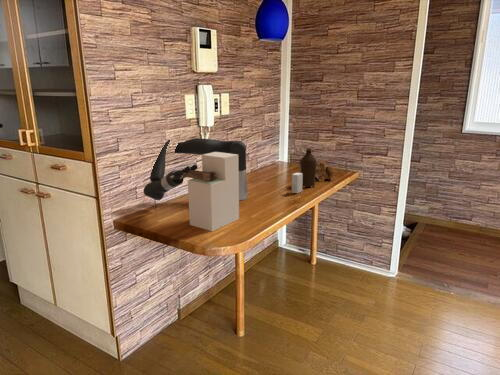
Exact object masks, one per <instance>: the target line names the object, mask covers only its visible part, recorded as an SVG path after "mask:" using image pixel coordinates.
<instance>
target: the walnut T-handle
mask: <svg viewBox="0 0 500 375" xmlns="http://www.w3.org/2000/svg"><path fill="white" fill-rule="evenodd" d="M183 177H186V178H187V179H189V178H190V179H193V178H196V179H203V180H204V181H210V180H214V179H217V172H205V171H202V170H197V169H196V170H190V171H189V172H187V173H186V174H184V176H183Z"/></svg>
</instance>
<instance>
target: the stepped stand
mask: <svg viewBox="0 0 500 375" xmlns="http://www.w3.org/2000/svg"><path fill="white" fill-rule="evenodd" d="M201 167H202V168H201V169H202V170H201V171H205V172H217V179H214V180H210V181H204V180H203V179H196V178H190V179H189V178H188V180H187V193H188V196H187V197H188V214H189V225H190V226H192V227H196V228H200V229H204V230H206V231H210V232H214V231H216V230H218V229H221V228H222V227H225V226H227V225H228V224H230V223H233V222H236V221H238V220H239V219H240V200H239V167H238V155H237V154H229V153H222V152H212V153H208V154H203V155H201Z"/></svg>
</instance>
